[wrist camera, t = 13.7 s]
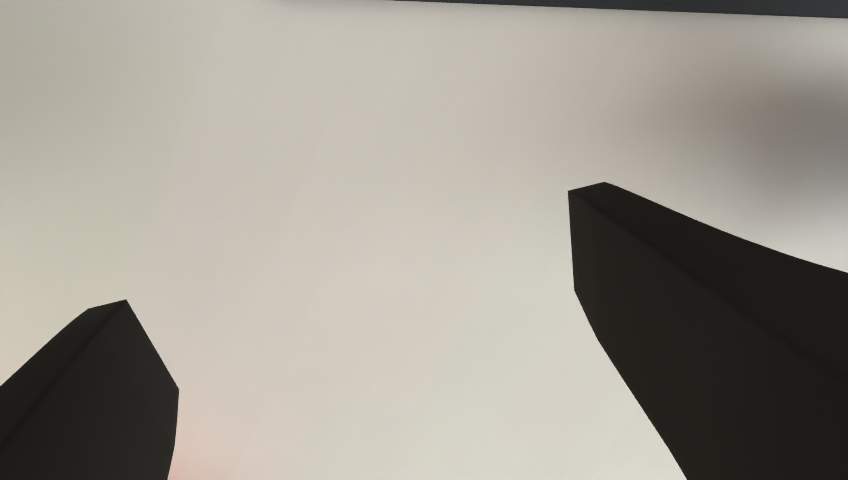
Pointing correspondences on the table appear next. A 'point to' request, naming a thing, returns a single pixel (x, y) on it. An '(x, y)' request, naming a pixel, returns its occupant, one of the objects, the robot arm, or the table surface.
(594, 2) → the mat
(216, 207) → the table surface
